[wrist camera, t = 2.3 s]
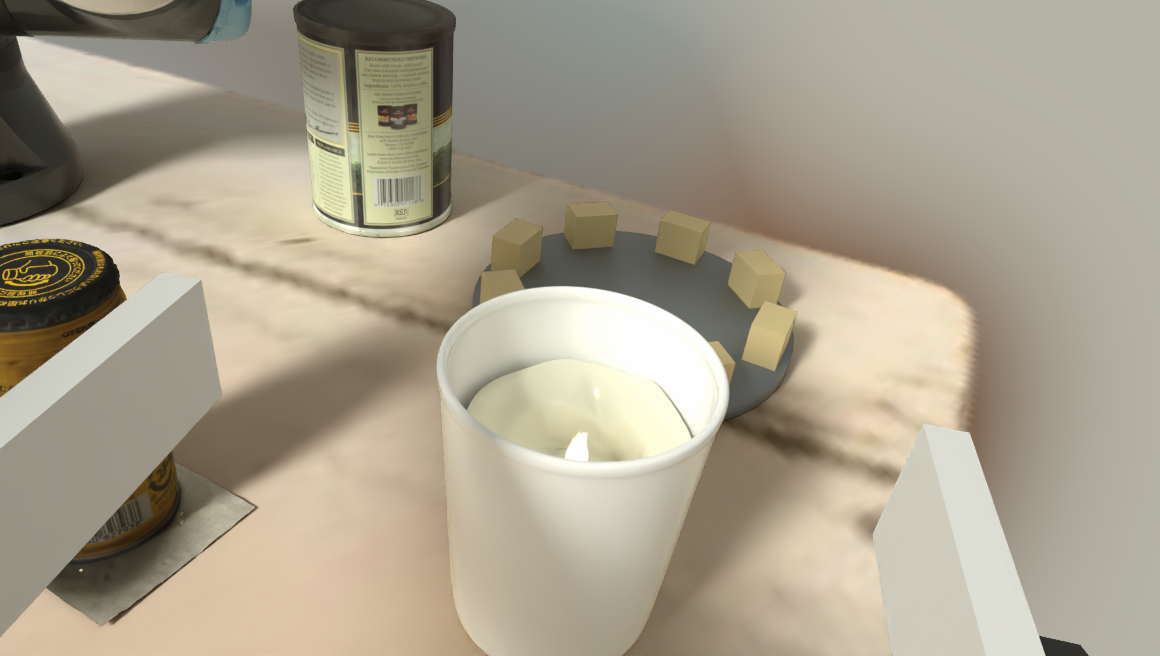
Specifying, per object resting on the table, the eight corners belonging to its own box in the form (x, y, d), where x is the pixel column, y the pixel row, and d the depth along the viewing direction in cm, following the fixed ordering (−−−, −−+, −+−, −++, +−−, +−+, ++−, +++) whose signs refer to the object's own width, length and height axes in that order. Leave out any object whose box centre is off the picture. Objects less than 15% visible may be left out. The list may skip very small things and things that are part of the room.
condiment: (125, 433, 38) (61, 206, 31) (256, 510, 35) (216, 278, 29) (-36, 532, 33) (-156, 283, 26) (102, 632, 30) (9, 381, 23)
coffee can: (390, 166, 66) (385, -15, 58) (480, 210, 61) (488, 20, 53) (281, 200, 59) (259, 0, 51) (372, 254, 54) (363, 42, 46)
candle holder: (504, 748, 28) (530, 511, 21) (395, 548, 34) (389, 318, 28) (715, 631, 33) (792, 408, 26) (586, 475, 39) (620, 264, 32)
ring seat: (443, 255, 55) (444, 206, 53) (701, 236, 62) (710, 193, 60) (522, 454, 40) (528, 397, 38) (852, 401, 47) (873, 350, 44)
